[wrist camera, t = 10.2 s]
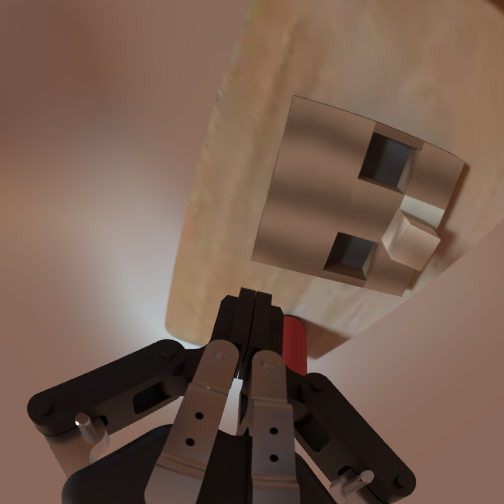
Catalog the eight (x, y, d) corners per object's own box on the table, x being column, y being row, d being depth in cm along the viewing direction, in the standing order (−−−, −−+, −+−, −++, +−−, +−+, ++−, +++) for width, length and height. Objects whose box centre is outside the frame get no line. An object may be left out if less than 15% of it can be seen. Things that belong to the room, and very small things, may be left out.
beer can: (293, 350, 46) (292, 417, 36) (253, 337, 45) (243, 405, 35) (314, 321, 43) (318, 392, 32) (270, 306, 42) (263, 377, 32)
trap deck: (293, 95, 28) (294, 96, 26) (452, 154, 29) (465, 161, 26) (253, 247, 38) (250, 260, 35) (395, 282, 38) (401, 296, 36)
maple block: (398, 208, 30) (411, 224, 27) (426, 222, 30) (441, 239, 27) (381, 239, 32) (390, 258, 29) (409, 251, 32) (420, 271, 29)
